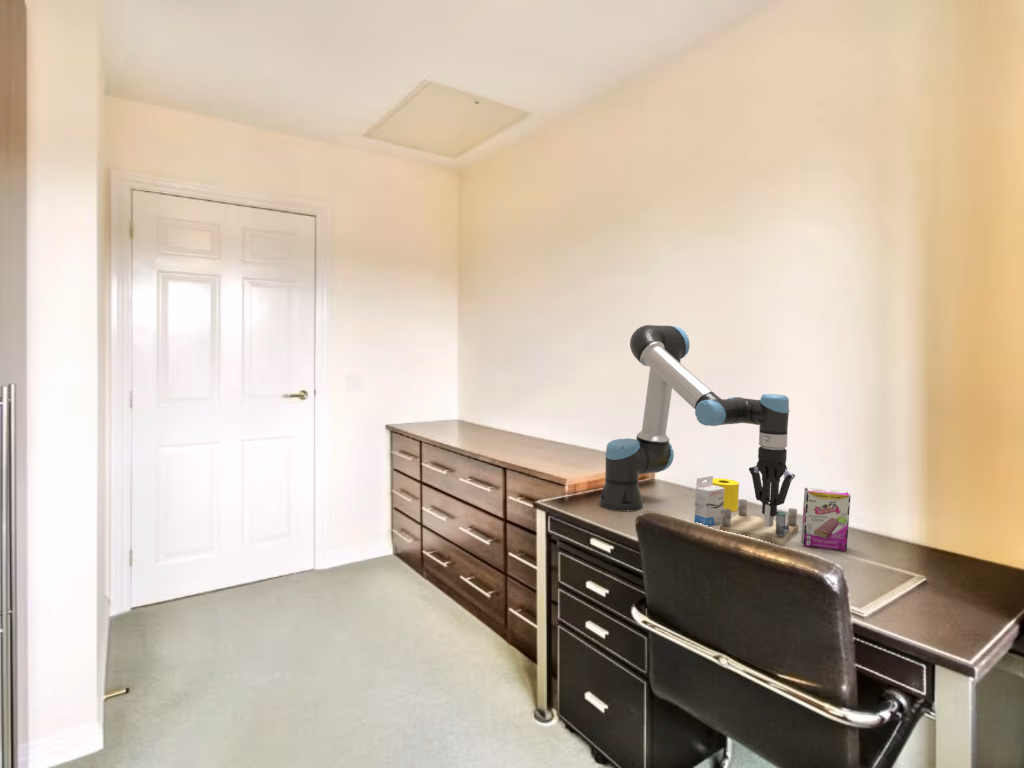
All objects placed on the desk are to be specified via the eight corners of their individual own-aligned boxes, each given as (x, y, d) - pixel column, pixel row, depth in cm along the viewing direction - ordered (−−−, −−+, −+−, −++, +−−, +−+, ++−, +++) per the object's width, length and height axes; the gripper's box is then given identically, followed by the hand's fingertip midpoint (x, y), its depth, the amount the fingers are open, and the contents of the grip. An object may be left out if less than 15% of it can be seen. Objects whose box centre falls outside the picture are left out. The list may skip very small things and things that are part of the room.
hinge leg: (781, 527, 169) (782, 505, 169) (790, 529, 168) (791, 506, 167) (774, 535, 162) (775, 512, 161) (783, 537, 160) (784, 514, 160)
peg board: (719, 532, 172) (720, 509, 171) (739, 519, 186) (739, 498, 185) (782, 546, 160) (783, 522, 160) (798, 531, 174) (799, 509, 174)
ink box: (706, 527, 177) (708, 481, 176) (693, 523, 181) (695, 478, 180) (723, 522, 181) (725, 478, 180) (710, 518, 186) (712, 475, 185)
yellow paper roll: (738, 513, 193) (739, 486, 192) (708, 510, 196) (709, 483, 195) (736, 505, 202) (737, 479, 202) (707, 502, 205) (708, 477, 205)
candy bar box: (803, 547, 160) (806, 490, 159) (800, 541, 165) (803, 486, 164) (848, 552, 156) (851, 494, 155) (843, 546, 161) (846, 490, 160)
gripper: (744, 445, 166) (741, 522, 168) (788, 452, 156) (784, 534, 158) (758, 442, 170) (754, 518, 172) (801, 449, 160) (796, 529, 162)
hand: (768, 525), depth 165 cm, fingers closed
